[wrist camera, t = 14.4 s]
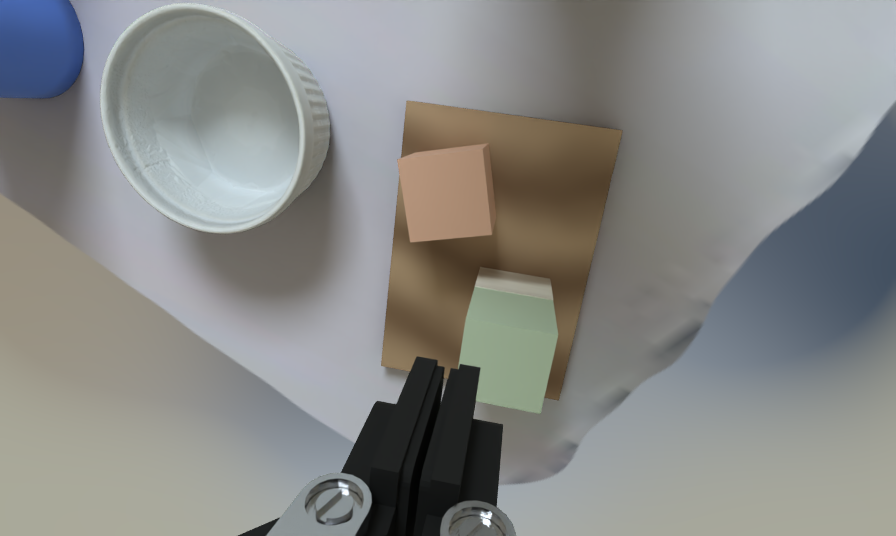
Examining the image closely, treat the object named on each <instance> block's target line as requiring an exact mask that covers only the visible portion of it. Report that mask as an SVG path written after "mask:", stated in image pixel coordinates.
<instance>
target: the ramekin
mask: <svg viewBox="0 0 896 536" xmlns="http://www.w3.org/2000/svg"><path fill="white" fill-rule="evenodd" d="M100 110H101V119H102V124H103V129H104V132H105V136H106V139H107V142H108V145H109V148H110V150H111V153H112V155H113V157H114V159H115V161H116V163H117V165H118V167H119V168H120V170H121V172H122V173H123V175H124V176H125V178H126V179H127V181H128V182H129V183H130V184H131V186H132V187H133V188H134V189H135V190H136V191H137V193H138V194H139V195H140V196H141V197H142V198H143V199H144V200H145V201H146V202H147V203H149V204H150V205H151V206H152V207H153V208H155V209H156V210H157V211H158V212H160V213H161V214H163V215H164V216H166V217H167V218H169V219H171V220H173V221H175V222H177V223H179V224H181V225H183V226H186V227H188V228H191V229H194V230H198V231H202V232H207V233H214V234H232V233H238V232H243V231H247V230H250V229H253V228H256V227H258V226H261V225H263V224H265V223H267V222H269V221H271V220H272V219H274V218H275V217H277V216H278V215H279V214H281V213H282V212H283V211H284V210H285V209H286V208H287V207H288V206H289V205H290V204H291V203H292V202H293V200H294V199H295V198H297V197H298V196H299V195H300V194H301V193H302V192H303V191H304V190H306V189H307V188H308V187H309V186H310V185H311V183H312V181H313V180H314V179H315V178H316V177H317V175H318V172H319V171H320V170H321V168H322V166H323V162H324V160H325V159H326V156H327V150H328V148H329V139H330V121H329V113H328V109H327V104H326V101H325V99H324V95H323V92H322V90H321V89H320V87H319V85H318V82H317V80H316V79H315V78H314V77H313V75H312V73H311V71H310V70H309V69H308V68H307V67H306V65H305V64H304V62H303V61H302V60H301V59H300V58H298V57H297V56H296V55H295V53H294V52H292V51H291V50H290V49H288V48H286V47H285V46H284V45H283V44H282V43H280V42H279V41H277V40H275V39H274V38H272V37H270V36H268V35H267V34H266V33H265V32H264V31H262V30H261V29H260V28H258V27H257V26H255V25H254V24H253V23H251V22H249V21H248V20H246V19H244V18H242V17H241V16H239V15H237V14H234V13H232V12H229V11H227V10H224V9H220V8H216V7H212V6H208V5H203V4H195V3H177V4H170V5H166V6H163V7H160V8H157V9H154V10H152V11H150V12H148V13H146V14H144V15H143V16H141V17H140V18H138V19H137V20H136V21H134V22H133V23H132V24H131V25H130V26H129V27H128V28H126V30H125V31H124V32H123V33H122V34H121V36H120V37H119V38H118V40H117V41H116V43H115V44H114V46H113V48H112V50H111V52H110V54H109V56H108V59H107V61H106V64H105V67H104V71H103V75H102V81H101V88H100Z"/></svg>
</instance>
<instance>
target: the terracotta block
mask: <svg viewBox="0 0 896 536" xmlns="http://www.w3.org/2000/svg"><path fill="white" fill-rule="evenodd" d="M397 161H398V168H399V174H400V181H401V187H402V193H403V200H404V206H405V212H406V219H407V225H408V231H409V238H410V242H420V241H431V240H442V239H453V238H464V237H475V236H485V235H492V232H493V228H494V225H495V221H496V209H495V199H494V189H493V180H492V170H491V161H490V151H489V143H487V144H479V145H471V146H463V147H455V148H447V149H439V150H431V151H423V152H415V153H413V154H410V155H408V156H405V157H403V158H400V159H397Z"/></svg>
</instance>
